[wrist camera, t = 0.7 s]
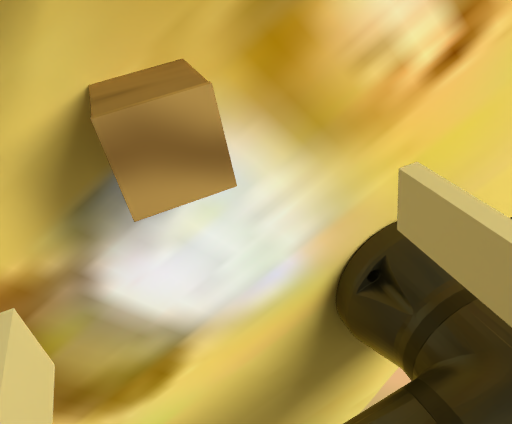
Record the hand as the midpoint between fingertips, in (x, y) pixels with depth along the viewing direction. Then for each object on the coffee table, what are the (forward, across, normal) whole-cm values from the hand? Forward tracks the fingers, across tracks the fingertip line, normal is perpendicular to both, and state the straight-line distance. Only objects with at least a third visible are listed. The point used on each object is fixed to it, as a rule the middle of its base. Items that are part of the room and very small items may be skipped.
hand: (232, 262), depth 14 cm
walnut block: (+17, 0, 0) cm, 17 cm away
